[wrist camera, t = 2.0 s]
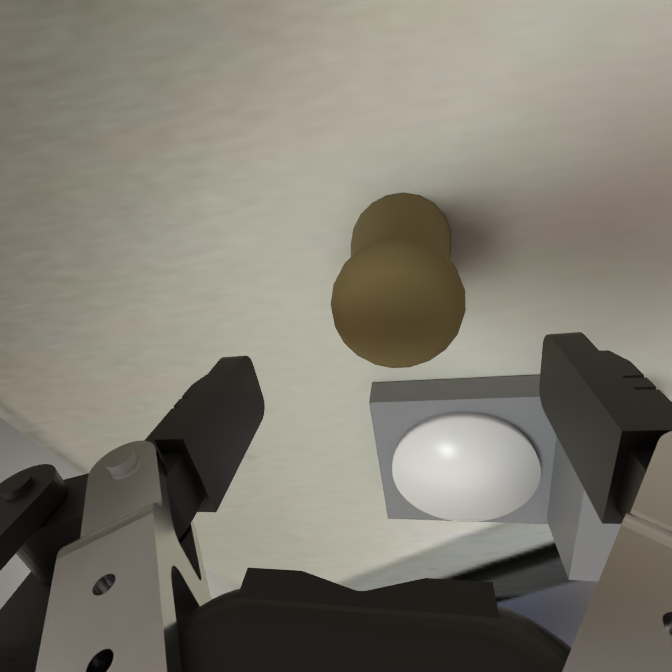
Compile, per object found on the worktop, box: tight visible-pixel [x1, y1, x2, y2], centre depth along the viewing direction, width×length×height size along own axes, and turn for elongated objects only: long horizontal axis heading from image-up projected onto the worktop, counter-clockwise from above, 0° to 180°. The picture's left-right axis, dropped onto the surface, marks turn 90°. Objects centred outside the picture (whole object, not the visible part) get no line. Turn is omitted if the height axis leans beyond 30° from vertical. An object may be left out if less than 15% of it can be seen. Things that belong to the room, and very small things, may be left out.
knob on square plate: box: [369, 375, 621, 581], centre depth 26 cm, size 16×12×7 cm
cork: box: [331, 193, 465, 368], centre depth 18 cm, size 6×6×11 cm
